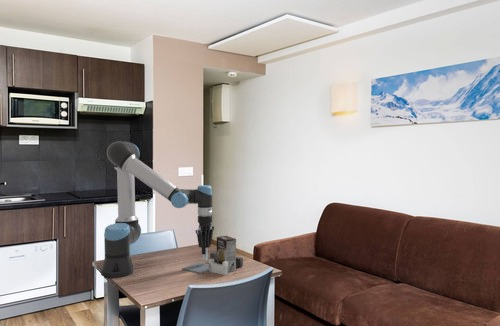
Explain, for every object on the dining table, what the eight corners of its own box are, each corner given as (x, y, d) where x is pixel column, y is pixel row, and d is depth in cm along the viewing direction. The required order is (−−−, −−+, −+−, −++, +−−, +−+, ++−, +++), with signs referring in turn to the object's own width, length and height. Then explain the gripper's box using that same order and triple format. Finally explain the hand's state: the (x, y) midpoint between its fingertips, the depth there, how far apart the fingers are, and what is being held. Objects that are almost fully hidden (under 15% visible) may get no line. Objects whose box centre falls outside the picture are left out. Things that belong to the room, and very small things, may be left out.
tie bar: (210, 261, 202) (210, 252, 202) (213, 260, 204) (213, 251, 204) (240, 267, 192) (240, 258, 192) (242, 266, 194) (242, 256, 194)
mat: (181, 269, 189) (181, 268, 189) (198, 263, 200) (198, 262, 200) (202, 274, 182) (202, 272, 182) (217, 267, 193) (217, 265, 193)
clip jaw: (208, 271, 186) (208, 259, 186) (211, 270, 188) (211, 258, 188) (225, 275, 181) (225, 262, 181) (228, 273, 183) (228, 261, 183)
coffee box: (216, 268, 192) (216, 236, 191) (226, 265, 196) (226, 235, 195) (225, 272, 185) (225, 240, 184) (236, 270, 188) (236, 238, 188)
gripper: (202, 217, 188) (202, 264, 189) (218, 213, 199) (218, 257, 200) (191, 216, 192) (191, 261, 193) (207, 212, 203) (207, 255, 204)
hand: (205, 259), depth 196 cm, fingers closed
